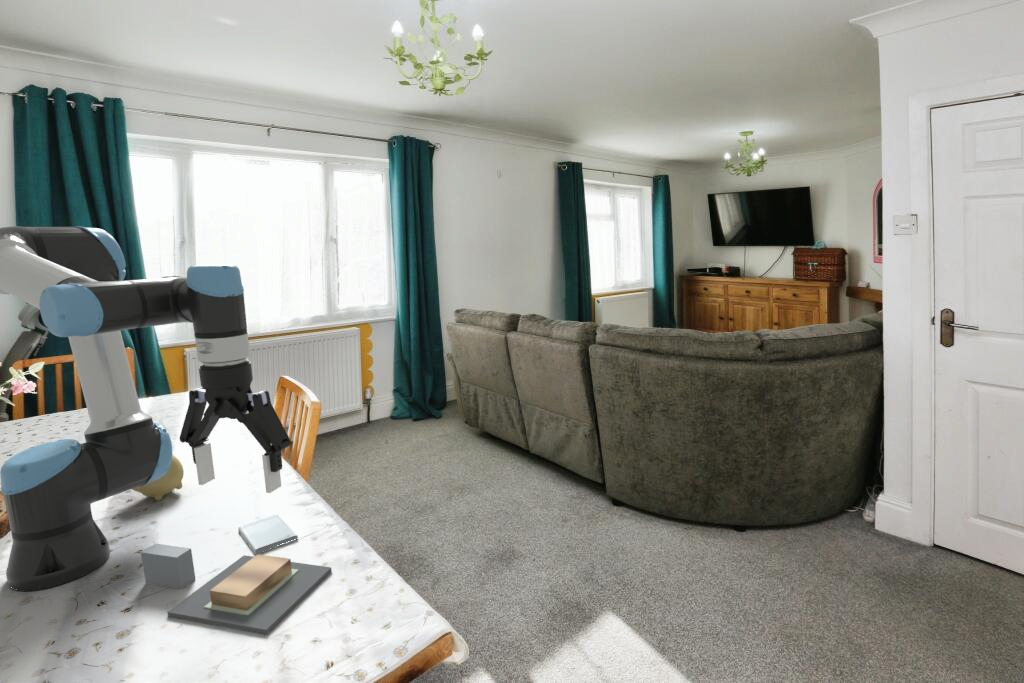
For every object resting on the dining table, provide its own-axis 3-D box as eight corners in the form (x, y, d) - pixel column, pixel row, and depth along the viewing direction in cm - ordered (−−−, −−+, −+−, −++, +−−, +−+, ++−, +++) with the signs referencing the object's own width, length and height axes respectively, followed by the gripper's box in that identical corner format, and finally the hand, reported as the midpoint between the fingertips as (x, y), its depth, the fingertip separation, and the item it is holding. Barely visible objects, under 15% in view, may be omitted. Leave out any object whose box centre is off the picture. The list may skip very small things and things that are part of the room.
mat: (167, 616, 90) (166, 610, 89) (244, 559, 106) (243, 554, 106) (266, 634, 84) (266, 628, 84) (331, 571, 100) (331, 566, 100)
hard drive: (297, 534, 112) (278, 513, 122) (254, 549, 107) (237, 526, 116) (298, 542, 112) (278, 520, 122) (255, 557, 107) (238, 533, 117)
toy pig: (123, 500, 134) (116, 458, 132) (177, 483, 143) (171, 444, 141) (135, 511, 128) (128, 467, 126) (192, 493, 136) (186, 452, 135)
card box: (259, 566, 101) (257, 554, 101) (291, 571, 99) (290, 558, 99) (211, 604, 91) (209, 590, 90) (247, 610, 89) (245, 596, 88)
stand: (145, 583, 99) (140, 552, 98) (160, 573, 102) (155, 543, 101) (181, 589, 97) (176, 557, 96) (195, 579, 100) (191, 548, 99)
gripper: (143, 363, 89) (161, 487, 93) (274, 369, 82) (288, 503, 86) (182, 354, 96) (198, 470, 100) (306, 358, 89) (317, 483, 93)
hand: (239, 485), depth 93 cm, fingers open, 13 cm apart
